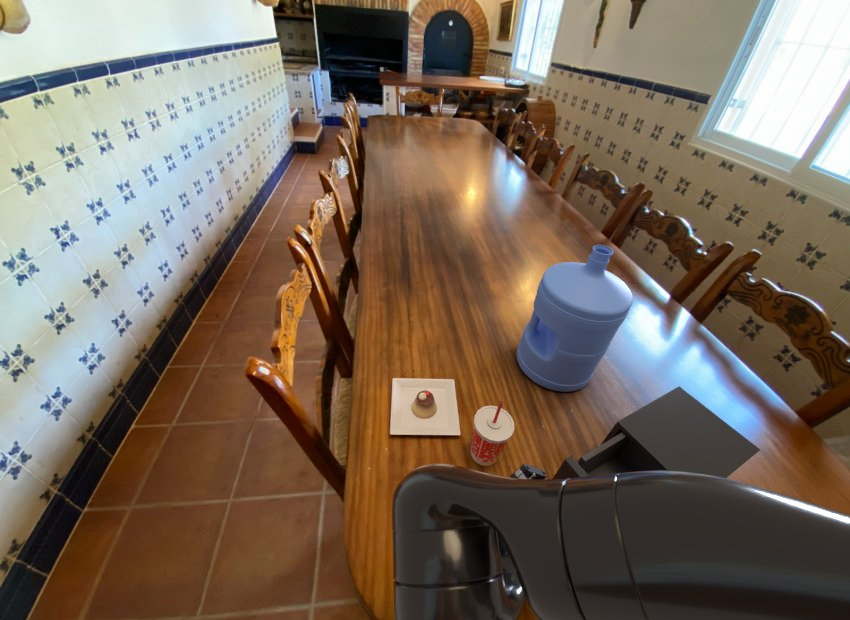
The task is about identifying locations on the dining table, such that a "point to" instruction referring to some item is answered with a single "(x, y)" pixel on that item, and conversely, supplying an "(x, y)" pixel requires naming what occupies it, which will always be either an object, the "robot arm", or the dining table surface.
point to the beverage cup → (490, 433)
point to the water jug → (573, 322)
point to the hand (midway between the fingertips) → (577, 516)
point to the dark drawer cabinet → (685, 436)
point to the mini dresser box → (608, 460)
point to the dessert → (424, 407)
